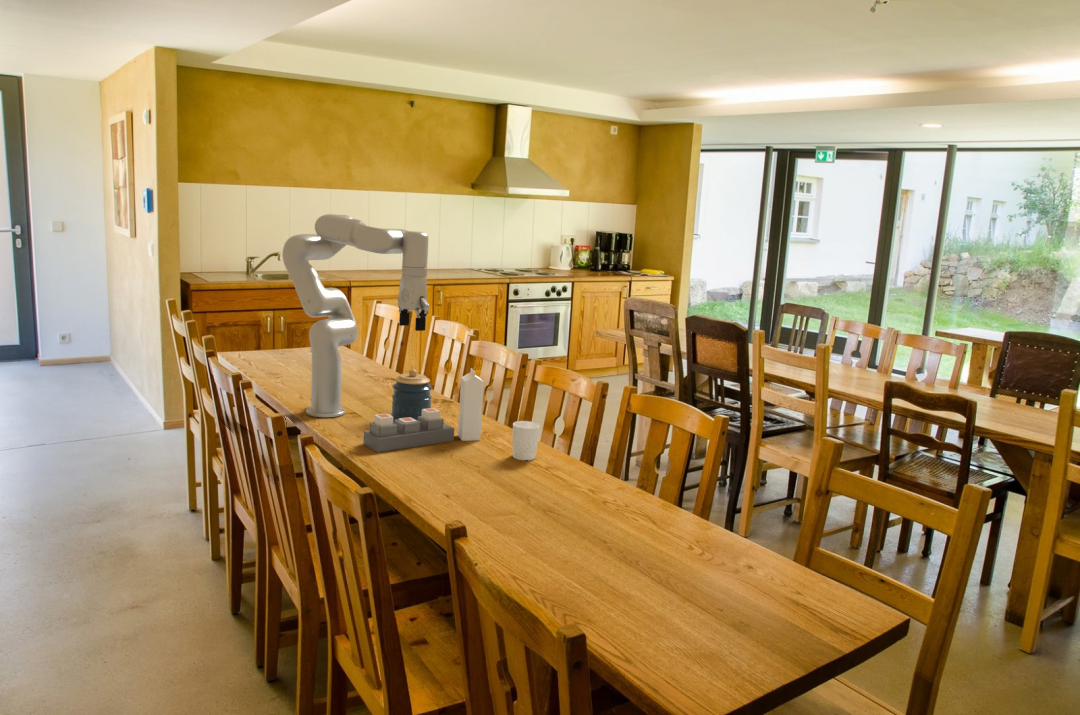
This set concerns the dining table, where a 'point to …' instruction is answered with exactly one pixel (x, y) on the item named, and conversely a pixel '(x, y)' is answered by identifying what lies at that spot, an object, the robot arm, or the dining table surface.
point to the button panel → (407, 435)
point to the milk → (470, 407)
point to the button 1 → (383, 420)
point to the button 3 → (430, 414)
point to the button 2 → (407, 420)
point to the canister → (410, 395)
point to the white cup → (525, 440)
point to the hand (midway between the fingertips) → (412, 327)
